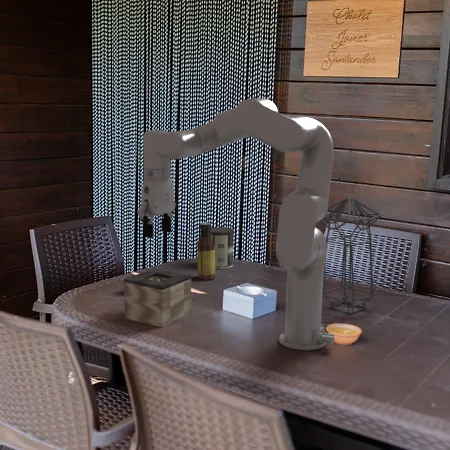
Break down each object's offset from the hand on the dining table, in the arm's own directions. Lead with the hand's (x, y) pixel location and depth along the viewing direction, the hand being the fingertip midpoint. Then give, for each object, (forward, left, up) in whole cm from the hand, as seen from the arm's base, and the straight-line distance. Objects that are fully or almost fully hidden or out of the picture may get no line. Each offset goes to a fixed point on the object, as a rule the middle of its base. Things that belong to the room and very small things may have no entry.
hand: (157, 234), depth 199 cm
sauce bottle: (+11, -42, -25) cm, 50 cm away
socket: (0, 0, -25) cm, 25 cm away
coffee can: (+16, -59, -25) cm, 66 cm away
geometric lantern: (-43, -39, -25) cm, 63 cm away
